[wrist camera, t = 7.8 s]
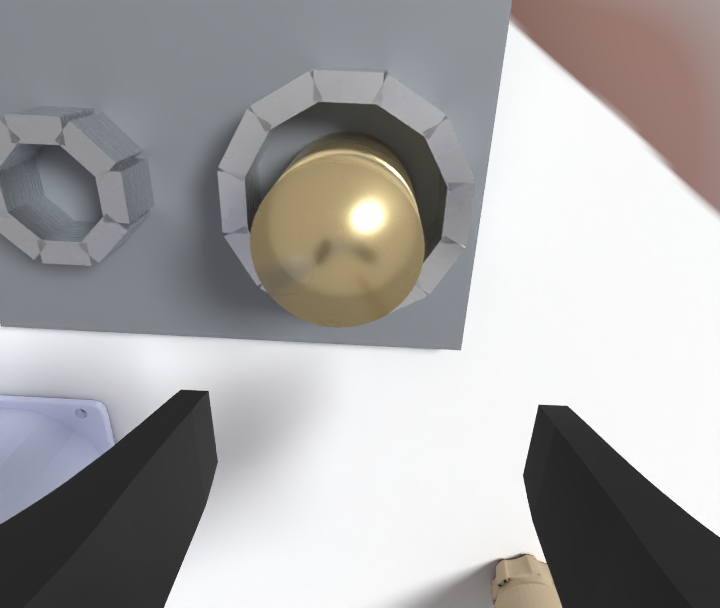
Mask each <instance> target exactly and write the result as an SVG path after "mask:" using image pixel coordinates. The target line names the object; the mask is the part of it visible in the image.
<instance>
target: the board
mask: <svg viewBox="0 0 720 608" xmlns="http://www.w3.org/2000/svg"><path fill="white" fill-rule="evenodd" d="M511 5H512V0H0V117H2V116H5V115H4V114H7V113H12V112H17V111H22V110H27V109H32V108H37V107H42V106H56V107H79V108H94V110H95V114H98V113H101V112H103V113H104V114H105V115H107V116H108V117H109V118H110V119H111V120H112V121H113V122H114V123H115V124H116V125H117V126H118V127H119V128H120V129H121V130H123V131H124V132H125V133H126V134H127V135H128V136H129V137H130V138H131V139H132V140H133V141H134V142H135V143H136V144H138V145H139V146H140V147H141V148H142V149H143V151H142V152H141V153H140V154H139V156H138V157H137V158H148V163H149V170H150V177H151V184H152V191H153V198H154V206H153V207H152V208H150V209H149V210H150V211H151V212H153V213H152V214H151V215H150V216H149V217H148V218H147V219H146V220H145V221H144V222H143V223H142V224H141V226H140V227H139V228H138V229H137V230H136V231H135V232H134V233H133V234H132V235H131V236H130V238H129V239H128V240H127V241H126V242H125V243H123V244H122V245H121V246H120V247H118V248H117V249H116V250H115V251H113V252H112V253H111V254H110V255H108V256H107V257H106V258H104V259H103V260H102V261H101V262H99V263H98V262H96V263H94V264H93V265H92V266H87V265H66V264H46V263H42V259H41V256H39V257H38V258H36V259H34V260H33V259H32V258H31V257H30V256H28V255H27V254H26V253H25V252H23V251H22V250H21V249H20V248H18V247H17V246H16V245H15V244H13V243H12V242H11V241H9V240H8V239H7V238H6V237H4V236H3V235H2V234H1V233H0V323H1V326H5V327H24V328H43V329H63V330H82V331H101V332H120V333H140V334H159V335H178V336H197V337H217V338H236V339H255V340H274V341H294V342H313V343H332V344H352V345H371V346H390V347H409V348H429V349H448V350H461V345H462V339H463V332H464V325H465V318H466V311H467V304H468V298H469V291H470V284H471V277H472V270H473V264H474V257H475V250H476V243H477V236H478V230H479V223H480V216H481V209H482V202H483V195H484V189H485V182H486V175H487V168H488V161H489V155H490V148H491V141H492V134H493V127H494V121H495V114H496V107H497V100H498V93H499V86H500V80H501V73H502V66H503V59H504V52H505V46H506V39H507V32H508V25H509V18H510V12H511ZM321 66H326V67H350V68H373V69H384V76H385V74H386V73H387V71H389V72H391V73H392V74H394V75H395V76H397V77H398V78H399V79H401V80H402V81H404V82H405V83H407V84H408V85H409V86H411V87H412V88H414V89H415V90H417V91H418V92H419V93H421V94H422V95H424V96H425V97H427V98H428V99H429V100H431V101H432V102H434V103H435V104H437V105H438V106H439V107H440V108H441V109H442V110H443V112H444V113H445V114H446V115H447V117H448V118H449V120H450V122H451V124H452V127H453V129H454V131H455V134H456V136H457V138H458V141H459V143H460V145H461V148H462V150H463V152H464V155H465V157H466V159H467V162H468V164H469V166H470V169H471V171H472V173H473V175H474V178H475V179H474V182H475V183H476V184H475V191H474V198H473V206H472V213H471V220H470V227H469V235H468V242H467V244H464V246H465V250H464V251H463V252H462V253H461V255H460V256H459V257H458V259H457V260H456V261H455V262H454V264H453V265H452V266H451V268H450V269H449V270H448V271H447V273H446V274H445V275H444V277H443V278H442V279H441V280H440V282H439V283H438V284H437V286H436V287H435V288H434V289H433V291H432V292H431V293H430V294H428V293H426V297H425V298H423V299H421V300H418V301H416V302H414V303H412V304H409V305H407V306H405V307H402V308H400V309H398V310H396V311H393V312H391V313H389V314H387V315H385V316H383V317H382V318H380V319H378V320H375V321H373V322H370V323H367V324H364V325H360V326H354V327H343V328H336V327H326V326H321V325H316V324H313V323H310V322H307V321H305V320H302V319H300V318H298V317H296V316H294V315H293V314H291V313H289V312H288V311H286V310H285V309H284V308H283V307H281V306H280V305H279V304H278V303H277V302H276V301H275V300H274V299H273V298H272V297H271V296H270V295H269V293H267V292H265V291H264V290H262V289H260V288H261V286H262V284H260V285H258V286H257V285H256V283H255V282H254V280H253V279H252V277H251V276H250V274H249V273H248V272H247V270H246V269H245V267H244V266H243V264H242V263H241V261H240V260H239V258H238V257H237V255H236V254H235V252H234V251H233V249H232V248H231V246H230V245H229V243H228V242H227V240H226V239H225V237H224V236H225V235H226V234H227V233H223V231H222V219H221V208H220V196H219V185H218V173H217V171H218V170H220V169H221V168H219V167H218V166H219V164H220V162H221V160H222V158H223V156H224V154H225V152H226V150H227V148H228V146H229V144H230V142H231V140H232V138H233V136H234V134H235V132H236V130H237V128H238V126H239V124H240V122H241V120H242V118H243V116H244V114H245V112H246V110H247V109H248V108H250V106H251V105H252V104H254V103H256V102H257V101H259V100H261V99H262V98H264V97H266V96H267V95H269V94H271V93H272V92H274V91H276V90H278V89H279V88H281V87H283V86H284V85H286V84H288V83H289V82H291V81H293V80H294V79H296V78H298V77H299V76H301V75H303V74H305V73H306V72H308V71H310V70H312V69H314V68H318V67H321ZM343 131H351V132H359V133H363V134H367V135H370V136H372V137H375V138H377V139H379V140H380V141H382V142H384V143H385V144H386V145H388V146H389V147H390V148H391V149H392V150H394V151H395V152H396V153H397V155H398V156H399V157H400V158H401V160H402V161H403V163H404V165H405V166H406V168H407V171H408V173H409V175H410V179H411V182H412V186H413V191H414V195H415V199H416V203H417V208H418V212H419V216H420V221H421V225H422V229H423V235H424V234H425V233H426V232H427V230H428V229H429V227H430V226H431V225H432V223H433V222H434V221H435V219H436V212H437V203H438V194H439V184H440V175H441V171H440V169H439V167H438V165H437V163H436V160H435V158H434V156H433V154H432V152H431V150H430V147H429V145H428V143H427V141H426V139H425V137H424V136H423V135H421V134H420V133H418V132H417V131H415V130H414V129H412V128H411V127H410V126H408V125H407V124H405V123H404V122H402V121H401V120H399V119H398V118H396V117H395V116H393V115H392V114H390V113H389V112H387V111H386V110H384V109H383V108H382V107H380V106H379V105H377V104H358V103H336V102H317V103H316V104H314V105H312V106H310V107H309V108H307V109H305V110H303V111H302V112H300V113H298V114H297V115H295V116H293V117H291V118H290V119H288V120H286V121H284V122H283V123H281V124H279V126H278V128H277V130H276V132H275V134H274V136H273V138H272V139H271V141H270V143H269V145H268V147H267V149H266V151H265V153H264V154H263V156H262V158H261V160H260V162H259V176H260V196H261V202H262V201H263V199H264V198H265V196H266V195H267V194H268V192H269V191H270V190H271V188H272V187H273V186H274V184H275V183H276V182H277V180H278V179H279V178H280V176H281V175H282V174H283V173H284V171H285V170H286V169H287V167H288V166H289V165H290V163H291V162H292V161H293V159H294V158H295V157H296V156H297V154H298V153H299V152H300V151H301V150H302V149H303V148H304V147H305V146H306V145H308V144H309V143H311V142H312V141H314V140H315V139H317V138H319V137H321V136H324V135H327V134H330V133H335V132H343ZM36 161H37V166H38V170H39V174H40V178H41V182H42V186H43V191H44V195H45V196H46V197H47V198H49V199H50V200H51V201H52V202H53V203H55V204H56V205H57V206H58V207H59V208H61V209H62V210H63V211H64V212H65V213H66V214H68V215H69V216H70V217H71V218H72V219H74V220H75V221H90V222H99V221H100V220H101V219H102V218H103V214H102V209H101V203H100V198H99V193H98V188H97V183H96V177H95V176H94V175H93V174H92V173H91V172H90V171H88V170H87V169H86V168H85V167H84V166H83V165H82V164H80V163H79V162H78V161H77V160H76V159H75V158H74V157H73V156H71V155H70V154H69V153H68V152H67V151H66V150H65V149H64V148H62V147H61V146H60V145H46V146H45V147H44V148H43V150H42V151H41V152H40V153H39V155H38V156H37V157H36Z"/></svg>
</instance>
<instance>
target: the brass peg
mask: <svg viewBox="0 0 720 608" xmlns="http://www.w3.org/2000/svg"><path fill="white" fill-rule="evenodd" d="M250 250H251V256H252V261H253V265H254V268H255V271H256V273H257V276H258V278H259V280H260V282H261V283H262V285H263V287H264V288H265V290H266V291H267V292H268V293H269V295H270V296H271V297H272V298H273V299H274V300H275V301H276V302H277V303H278V304H279V305H280V306H281V307H283V308H284V309H285V310H286V311H288V312H289V313H291V314H293V315H294V316H296V317H298V318H300V319H302V320H305V321H307V322H310V323H313V324H316V325H321V326H326V327H336V328H343V327H354V326H360V325H364V324H367V323H370V322H373V321H375V320H378V319H380V318H382V317H383V316H385V315H387V314H389V313H390V312H391V311H393V310H394V309H395V308H397V307H398V306H399V305H400V304H401V303H402V302H403V301H404V300H405V299H406V297H407V296H408V295H409V294H410V292H411V291H412V289H413V288H414V286H415V284H416V282H417V280H418V278H419V275H420V273H421V269H422V266H423V260H424V253H425V242H424V235H423V229H422V225H421V221H420V216H419V212H418V208H417V203H416V199H415V195H414V191H413V186H412V182H411V179H410V175H409V173H408V171H407V168H406V166H405V165H404V163H403V161H402V160H401V158H400V157H399V156H398V155H397V153H396V152H395V151H394V150H392V149H391V148H390V147H389V146H388V145H386V144H385V143H384V142H382V141H380V140H379V139H377V138H375V137H372V136H370V135H367V134H363V133H359V132H351V131H343V132H335V133H330V134H327V135H324V136H321V137H319V138H317V139H315V140H314V141H312V142H311V143H309V144H308V145H306V146H305V147H304V148H303V149H302V150H301V151H300V152H299V153H298V154H297V156H296V157H295V158H294V159H293V161H292V162H291V163H290V165H289V166H288V167H287V169H286V170H285V171H284V173H283V174H282V175H281V176H280V178H279V179H278V180H277V182H276V183H275V184H274V186H273V187H272V188H271V190H270V191H269V192H268V194H267V195H266V196H265V198H264V199H263V201H262V202H261V204H260V206H259V208H258V210H257V212H256V214H255V217H254V220H253V224H252V228H251V236H250Z"/></svg>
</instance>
